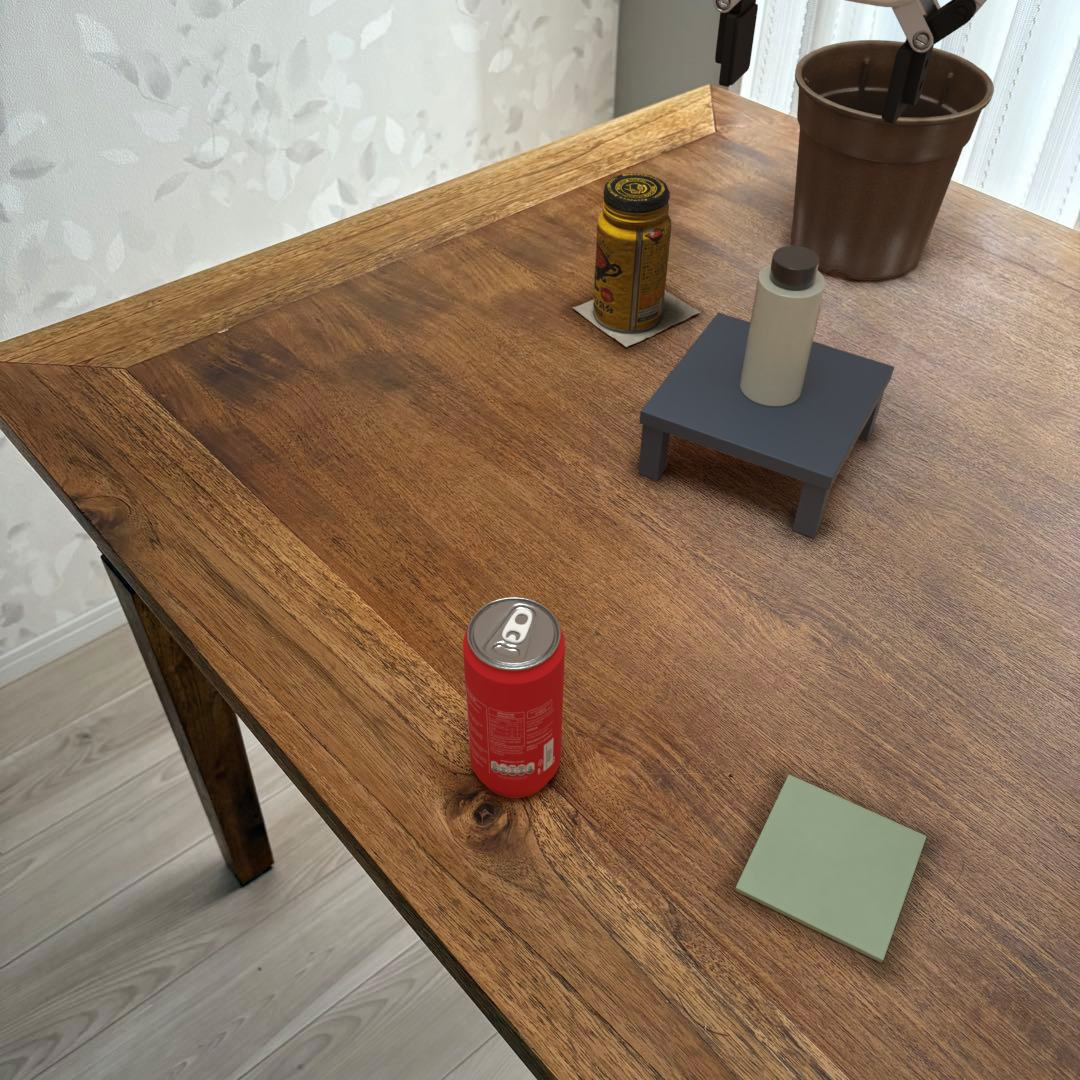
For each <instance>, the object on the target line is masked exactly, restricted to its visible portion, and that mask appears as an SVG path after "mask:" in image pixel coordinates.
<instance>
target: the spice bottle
mask: <svg viewBox="0 0 1080 1080" xmlns="http://www.w3.org/2000/svg"><path fill="white" fill-rule="evenodd" d="M818 266H819V257H818V255H817V254H816V253H815V252H814V251H812V250H810V249H808V248H805V247H802V246H794V245H792V244H791V245H784V246H780V247H779V248H777V249H775V250H774V252H773V253H772V258H771V263H769V264H767V265H765V266H763V267H762V268H761V269H760V270H759V273H758V275H757V281H756V285H755V286H756V287H755V293H754V298H753V304H752V309H751V316H750V321H749V322H750V327H749V332H748V338H747V344H746V350H745V356H744V362H743V367H742V373H741V379H740V388H741V391H742V392H743V394H744V395H745V396H746V397H747V398H749V399H750V400H752V401H754V402H756V403H758V404H761V405H765V406H774V407H777V406H785V405H789V404H791V403H793V402H795V401H796V400H797V399H798V398H799V397H800V395H801V393H802V388H803V384H804V379H805V375H806V370H807V366H808V361H809V357H810V352H811V348H812V343H813V342H814V339H815V333H816V330H817V326H818V325H817V324H818V320H819V317H820V312H821V308H822V303H823V297H824V293H825V289H826V278H825V276H824V274H822V272H820V270H819V269H818Z"/></svg>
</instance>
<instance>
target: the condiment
mask: <svg viewBox="0 0 1080 1080" xmlns="http://www.w3.org/2000/svg"><path fill="white" fill-rule="evenodd" d="M602 193H603V201H602V204H601V207H602V211H601V212H600V213H599V216H598V218H597V225H596V247H595V262H594V264H595V266H594V283H593V299H591V300H588V301H586V302H584V303H582V304H579V305H576V306H572V309H573V310H574V311H576V312H578V313H579V314H580V315H581V316H583V317H584V319H586V320H587V321H589V322H590V323H591V324H593V325H594V327H595V326H596V327H597V328H598V329H600V330H601V331H602V332H604V333H605V334H606V335H608V336H609V337H611V338H613V339H615V341H617V342H618V343H620V344H622V345H623V346H624V347H625V348H627V347H629V346H631V345H634V344H637V343H640V342H642V341H644V340H646V339H647V338H651V337H653V336H655V335H657V334H659V333H661V332H663V331H664V330H667V329H668V328H669V327H672V326H675V325H677V324H679V323H681V322H684V321H685V320H688V319H689V318H691V317H693V316H695V315H697V314H700V313H701V310H698V309H697V308H695V307H692V306H691V305H689V304H688V303H686V302H685V301H683V300H681V299H679V298H677V296H675V295H673V294H672V293H671V292H668V291H667V290H666V284H667V273H668V265H669V254H670V247H671V238H672V237H671V236H672V219H671V217H670V215H669V212H670V203H669V201H670V197H671V195H670V194H671V192H670V190H669V186H668V184H667V183H666V182H664V181H663V179H661V178H658V177H656V176H654V175H652V174H646V173H638V172H629V173H624V174H623V173H622V174H618V175H616V176H614V177H612V178H611V179H609V180H608V181H607V182H606V183H605V184H604V189H603V192H602Z"/></svg>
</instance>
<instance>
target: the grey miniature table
mask: <svg viewBox="0 0 1080 1080" xmlns="http://www.w3.org/2000/svg"><path fill="white" fill-rule="evenodd" d="M749 327H750V321H748V320H745V319H742V318H738V317H735V316H731V315H728V314H724V313H721V312H717V313H716V315H715V316H714V317H713V318H712V319H711V321H710V322H709V323H708V325H707V326H706V327H705V328H704V330H703V331H702V332H701V334H700V335H699V336H698V337H697V338H696V340H695V341H694V342H693V343H692V345H691V346H690V347H689V349H688V350H687V351H686V353H684V355H683V356H682V357H681V358H680V360H679V361H678V363H677V364H676V365H675V366H674V368H672V370H671V372H670V373H669V374H668V375H667V376H666V378H665V379H664V380H663V382H662V383H661V384H660V385H659V387H658V388H657V389H656V391H655V392H654V393H653V394H652V396H651V397H650V398H649V399H648V400H647V402H646V403H645V404H644V405H643V406H642V408H641V409H640V412H639V422H638V423H639V424H640V425H642V427H641V440H640V448H639V457H638V458H639V460H638V468H637V474H638V475H642V476H644V477H647V478H649V479H651V480H654V481H658V480H659V479H660V478H661V476H662V475H663V474H664V472H665V471H666V469H667V466H668V465H667V464H668V455H669V448H670V439H671V436H674V437H676V438H679V439H682V440H684V441H688V442H691V443H694V444H696V445H700V446H701V447H704V448H708V449H710V450H713V451H717V452H718V453H722V454H724V455H727V456H729V457H733V458H736V459H738V460H742V461H744V462H747V463H750V464H753V465H755V466H758V467H762V468H764V469H767V470H770V471H773V472H776V473H778V474H781V475H784V476H787V477H790V478H792V479H795V480H797V481H801V482H803V485H802V488H801V492H800V497H799V501H798V505H797V509H796V513H795V517H794V522H793V525H792V531H793V532H795V533H798V534H801V535H803V536H806V537H809V538H812V539H814V538H815V537H816V535H817V534H818V532H819V529H820V528H821V526H822V523H823V520H824V516H825V513H826V508H827V504H828V500H829V497H830V493H831V489H832V486H833V484H834V482H835V480H836V478H837V477H838V475H839V474H840V471H841V470H842V468H843V466H844V464H845V462H846V461H847V459H848V457H849V455H850V454H851V452H852V450H853V448H854V446H855V445H856V444H857V443H856V442H857V441H858V439H859V440H862V441H865V442H867V441H868V440H869V438H870V436H871V434H872V433H873V431H874V428H875V425H876V422H877V417H878V413H879V410H880V407H881V403H882V400H883V397H884V393H885V391H886V388H887V387H888V385H889V383H890V382H891V380H892V377H893V374H894V370H895V366H894V365H891V364H887V363H884V362H881V361H878V360H874V359H871V358H868V357H865V356H862V355H859V354H858V355H857V354H856V353H852V352H848V351H846V350H843V349H839V348H835V347H833V346H830V345H825V344H824V343H823V344H822V343H819V342H816V341H813V343H812V348H811V352H810V357H809V361H808V366H807V370H806V375H805V379H804V384H803V388H802V393H801V395H800V397H799V398H798V399H797V400H796V401H795V402H793V403H791V404H789V405H785V406H777V407H774V406H765V405H761V404H758V403H756V402H754V401H752V400H750V399H749V398H747V397H746V396H745V395H744V394H743V392H742V391H741V388H740V379H741V373H742V367H743V362H744V356H745V350H746V344H747V338H748V332H749Z"/></svg>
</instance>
